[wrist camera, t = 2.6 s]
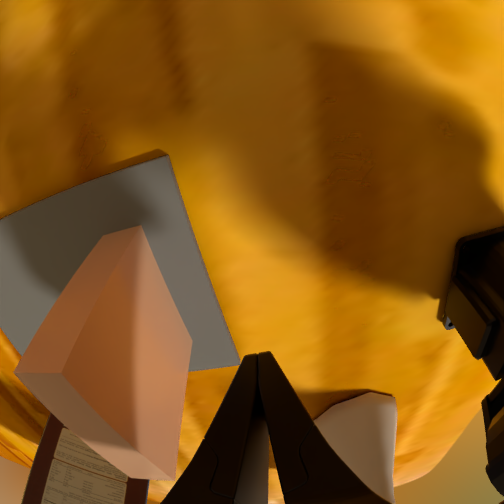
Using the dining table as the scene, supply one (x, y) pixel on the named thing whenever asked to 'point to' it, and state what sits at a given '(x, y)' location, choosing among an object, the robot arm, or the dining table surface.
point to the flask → (364, 438)
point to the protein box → (77, 473)
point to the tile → (115, 358)
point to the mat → (87, 236)
